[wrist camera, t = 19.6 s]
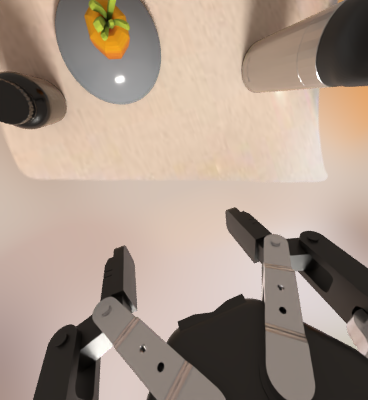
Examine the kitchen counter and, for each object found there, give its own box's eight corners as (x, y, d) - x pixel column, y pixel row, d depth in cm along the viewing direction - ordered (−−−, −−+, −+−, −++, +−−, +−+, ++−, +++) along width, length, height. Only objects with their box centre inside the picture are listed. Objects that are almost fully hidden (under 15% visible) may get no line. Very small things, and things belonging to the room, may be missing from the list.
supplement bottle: (11, 77, 28) (-54, 62, 18) (60, 79, 29) (26, 67, 19) (29, 123, 31) (-17, 133, 21) (72, 123, 33) (49, 132, 23)
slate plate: (144, -26, 26) (145, -31, 26) (169, 94, 35) (170, 94, 34) (32, -13, 24) (29, -17, 23) (88, 112, 33) (87, 113, 32)
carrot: (116, 24, 27) (107, -46, 15) (135, 60, 30) (141, 27, 17) (89, 40, 27) (58, -15, 15) (110, 75, 30) (99, 53, 17)
